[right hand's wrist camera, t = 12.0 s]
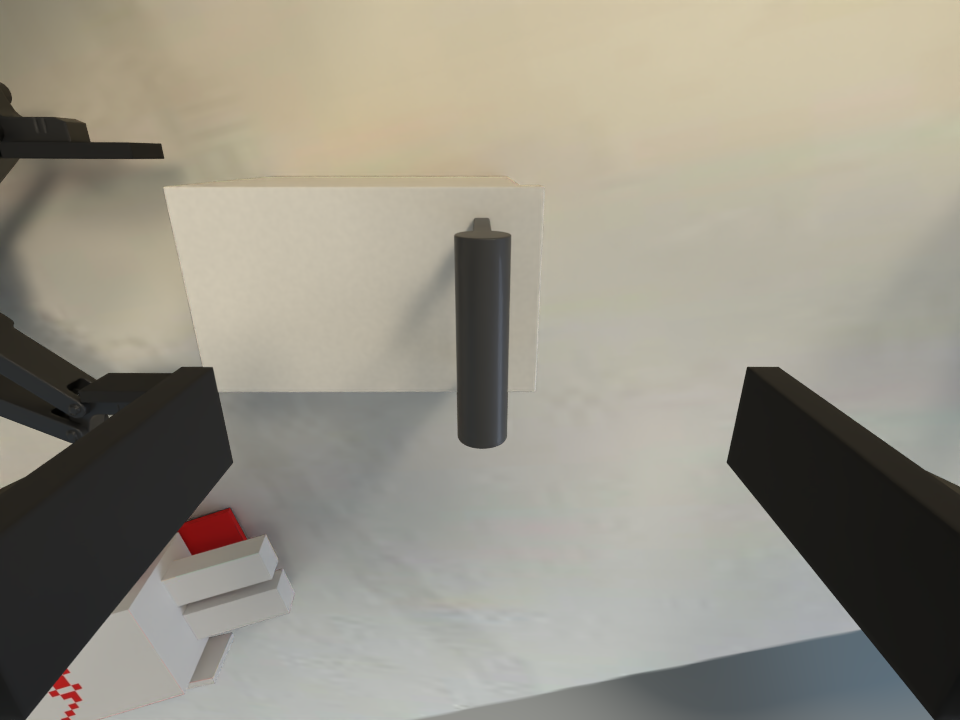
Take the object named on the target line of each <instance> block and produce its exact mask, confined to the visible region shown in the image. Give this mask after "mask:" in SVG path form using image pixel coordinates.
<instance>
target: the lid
mask: <svg viewBox="0 0 960 720" xmlns="http://www.w3.org/2000/svg"><path fill="white" fill-rule="evenodd" d="M163 191H164V195H165V200H166V204H167V209H168V213H169V218H170V222H171V227H172V231H173V236H174V240H175V245H176V250H177V254H178V259H179V263H180V268H181V272H182V277H183V281H184V286H185V290H186V295H187V299H188V304H189V308H190V313H191V317H192V322H193V326H194V331H195V335H196V340H197V344H198V349H199V353H200V358H201V362H202V367H213V370H214V375H215V379H216V384H217V389H218V392H457V420H458V438H459V440H460V441H461V442H462V443H463V444H464V445H466V446H469V447H472V448H479V449H486V448H492V447H496V446H498V445H500V444H502V443H503V442H504V441H505V440H506V438H507V407H508V392H535V391H536V372H537V350H538V327H539V305H540V283H541V261H542V239H543V217H544V195H545V188H544V187H543V186H541V185H176V186H165V187H163Z"/></svg>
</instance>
